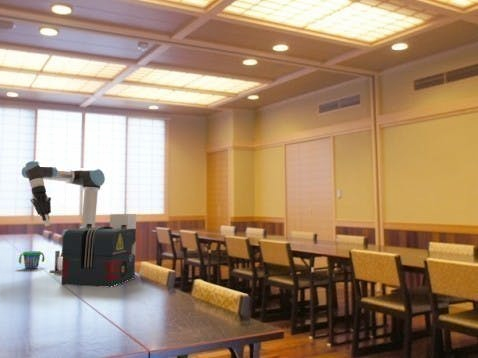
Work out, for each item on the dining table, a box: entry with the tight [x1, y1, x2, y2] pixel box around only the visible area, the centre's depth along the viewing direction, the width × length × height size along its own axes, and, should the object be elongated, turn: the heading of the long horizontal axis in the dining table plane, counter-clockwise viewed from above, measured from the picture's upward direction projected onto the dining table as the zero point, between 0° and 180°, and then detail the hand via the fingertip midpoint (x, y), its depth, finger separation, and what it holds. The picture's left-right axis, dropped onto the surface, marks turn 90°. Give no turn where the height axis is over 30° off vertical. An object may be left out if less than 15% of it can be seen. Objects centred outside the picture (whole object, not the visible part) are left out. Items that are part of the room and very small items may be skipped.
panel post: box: [49, 250, 62, 274], centre depth 285 cm, size 8×8×12 cm
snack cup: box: [18, 250, 45, 270], centre depth 300 cm, size 16×10×10 cm
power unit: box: [61, 224, 137, 288], centre depth 254 cm, size 28×28×30 cm
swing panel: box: [57, 257, 63, 270], centre depth 277 cm, size 21×2×7 cm, turn 48°
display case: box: [109, 213, 137, 256], centre depth 283 cm, size 11×11×35 cm
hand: (47, 225), depth 276 cm, fingers closed
